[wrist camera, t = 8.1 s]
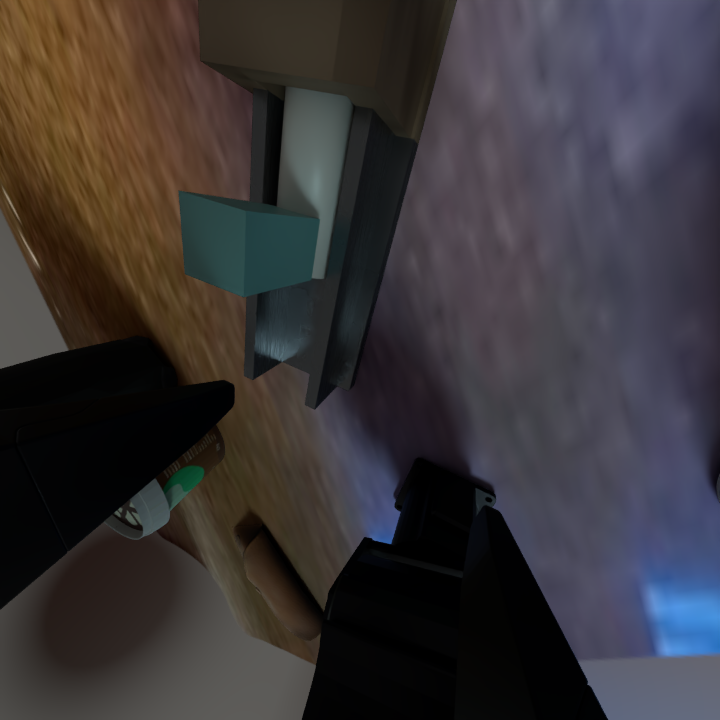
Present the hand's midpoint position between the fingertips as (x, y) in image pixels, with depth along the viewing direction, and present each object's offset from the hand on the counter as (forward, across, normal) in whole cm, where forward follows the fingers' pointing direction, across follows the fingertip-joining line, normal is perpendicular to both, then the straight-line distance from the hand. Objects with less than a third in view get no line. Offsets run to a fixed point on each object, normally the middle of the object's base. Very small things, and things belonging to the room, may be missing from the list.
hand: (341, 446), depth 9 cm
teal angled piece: (+10, +7, -10) cm, 16 cm away
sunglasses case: (+13, +8, +40) cm, 43 cm away
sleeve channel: (+12, +7, -3) cm, 14 cm away
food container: (+12, +20, +23) cm, 33 cm away
